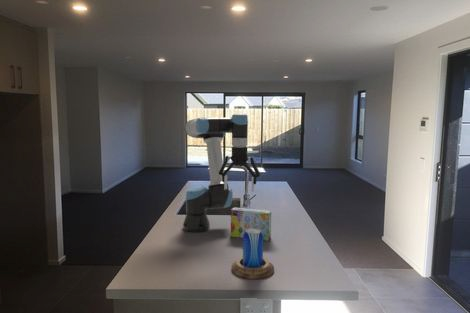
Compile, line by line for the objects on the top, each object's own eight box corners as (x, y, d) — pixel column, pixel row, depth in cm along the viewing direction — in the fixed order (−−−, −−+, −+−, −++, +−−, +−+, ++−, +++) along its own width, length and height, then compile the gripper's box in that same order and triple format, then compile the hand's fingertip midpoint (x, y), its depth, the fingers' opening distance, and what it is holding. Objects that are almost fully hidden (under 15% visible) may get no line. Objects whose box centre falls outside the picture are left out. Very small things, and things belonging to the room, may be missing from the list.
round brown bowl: (226, 276, 144) (226, 268, 143) (237, 258, 161) (237, 251, 160) (270, 282, 139) (270, 274, 139) (276, 263, 156) (276, 256, 156)
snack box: (271, 238, 187) (271, 210, 185) (268, 241, 182) (269, 213, 180) (233, 233, 194) (233, 206, 192) (230, 236, 189) (230, 209, 186)
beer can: (241, 262, 154) (242, 227, 151) (260, 262, 154) (261, 227, 152) (243, 271, 145) (244, 234, 143) (264, 270, 146) (264, 233, 144)
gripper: (212, 146, 168) (212, 189, 171) (263, 148, 162) (263, 193, 164) (217, 144, 175) (217, 186, 178) (266, 146, 169) (265, 189, 172)
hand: (239, 189), depth 171 cm, fingers open, 13 cm apart
